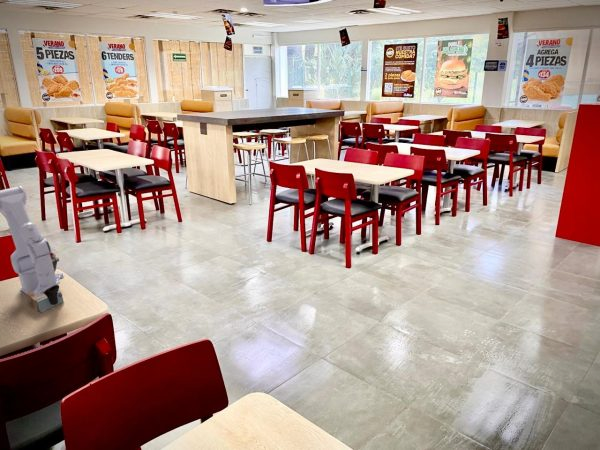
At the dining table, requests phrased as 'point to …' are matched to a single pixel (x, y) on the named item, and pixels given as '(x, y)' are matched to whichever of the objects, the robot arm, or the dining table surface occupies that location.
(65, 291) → the dining table surface
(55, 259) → the sundae
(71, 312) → the dining table surface
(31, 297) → the cabinet
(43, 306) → the door
